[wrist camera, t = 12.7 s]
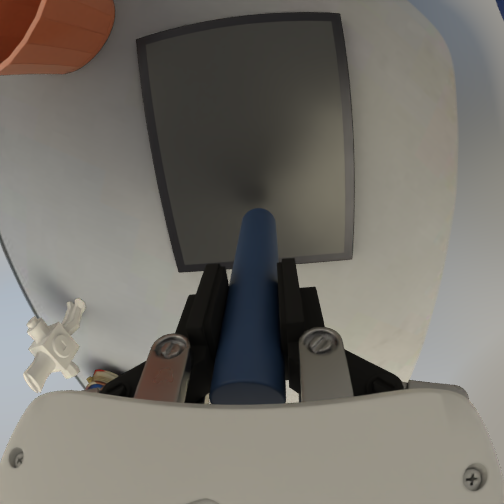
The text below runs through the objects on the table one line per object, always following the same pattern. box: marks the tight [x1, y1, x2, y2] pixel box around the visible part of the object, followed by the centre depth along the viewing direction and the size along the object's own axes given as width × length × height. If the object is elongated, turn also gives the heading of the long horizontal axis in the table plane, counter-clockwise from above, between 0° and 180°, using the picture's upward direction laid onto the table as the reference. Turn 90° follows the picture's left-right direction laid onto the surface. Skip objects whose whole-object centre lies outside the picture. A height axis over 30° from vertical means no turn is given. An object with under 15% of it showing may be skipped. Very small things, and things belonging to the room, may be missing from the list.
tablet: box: [136, 12, 355, 272], centre depth 20 cm, size 20×15×1 cm
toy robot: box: [24, 298, 86, 393], centre depth 24 cm, size 4×8×12 cm, turn 24°
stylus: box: [209, 208, 286, 405], centre depth 13 cm, size 2×2×13 cm
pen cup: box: [0, 0, 115, 76], centre depth 11 cm, size 9×9×9 cm
